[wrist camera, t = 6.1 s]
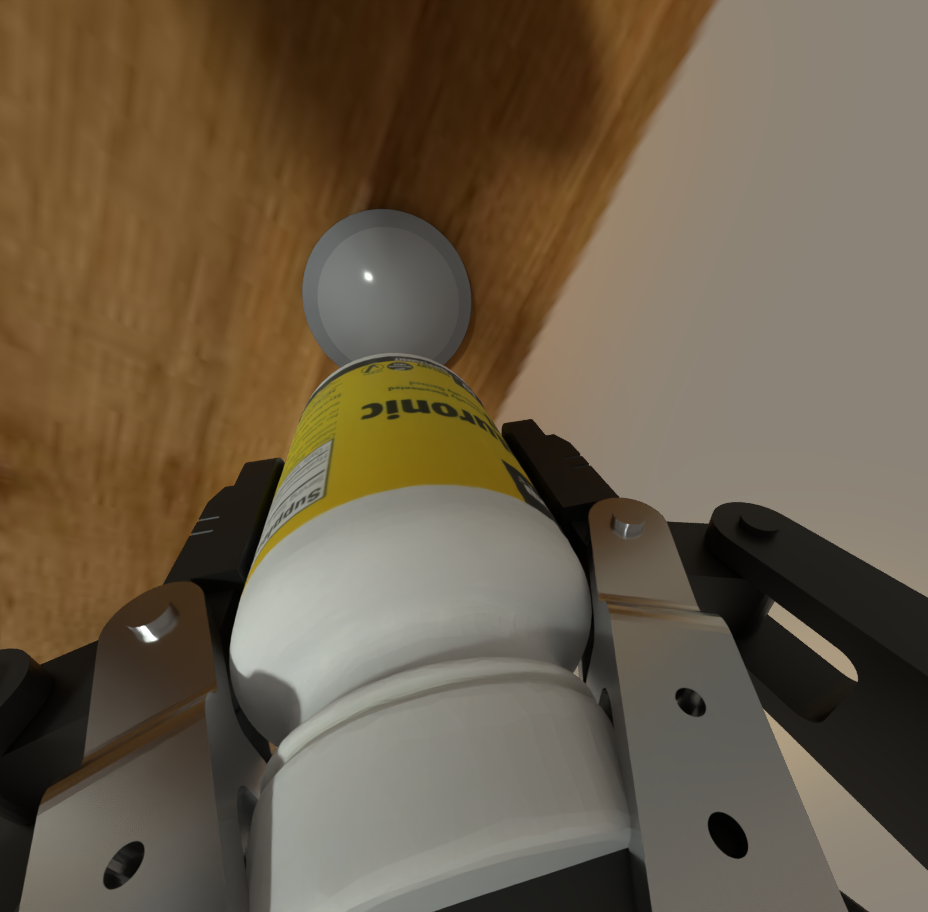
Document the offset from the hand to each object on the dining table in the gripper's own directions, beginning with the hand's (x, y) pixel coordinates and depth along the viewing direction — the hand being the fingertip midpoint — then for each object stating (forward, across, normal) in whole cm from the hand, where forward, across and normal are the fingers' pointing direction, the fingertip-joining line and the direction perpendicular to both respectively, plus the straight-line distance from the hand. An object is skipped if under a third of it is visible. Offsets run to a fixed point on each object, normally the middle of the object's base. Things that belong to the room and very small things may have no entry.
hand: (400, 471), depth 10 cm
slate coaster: (+20, -1, 0) cm, 20 cm away
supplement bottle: (+2, 0, 0) cm, 2 cm away
